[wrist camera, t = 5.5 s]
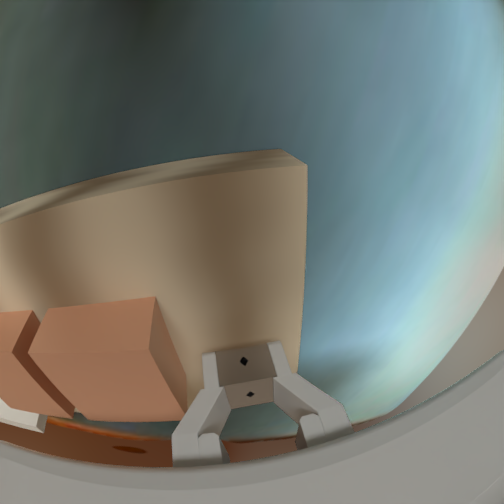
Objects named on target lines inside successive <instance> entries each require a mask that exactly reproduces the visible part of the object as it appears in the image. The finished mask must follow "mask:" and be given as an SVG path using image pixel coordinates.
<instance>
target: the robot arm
mask: <svg viewBox="0 0 504 504" xmlns="http://www.w3.org/2000/svg"><path fill="white" fill-rule="evenodd" d="M202 368H203V380H204V389H200V391H199V393H198V394H197V396H196V398H195V399H194V401H193V402H192V404H191V406H190V407H189V409H188V410H187V412H186V413H185V415H184V417H183V418H182V420H181V421H180V423H179V424H178V426H177V428H176V429H175V431H174V432H173V434H172V453H173V454H172V455H173V467H167V468H166V467H165V468H164V467H162V468H161V467H159V468H158V467H131V466H117V465H108V464H99V463H92V462H85V461H79V460H73V459H68V458H63V457H58V456H53V455H50V454H46V453H41V452H38V451H34V450H30V449H27V448H24V447H20V446H17V445H14V444H12V443H9V442H6V441H2V440H0V504H504V350H503V351H500V352H499V353H497V354H496V355H495V356H493V357H492V358H491V359H490V360H488V361H487V362H485V363H484V364H483V365H481V366H480V367H479V368H477V369H476V370H474V371H473V372H471V373H470V374H468V375H467V376H466V377H464V378H463V379H461V380H459V381H458V382H456V383H455V384H453V385H452V386H450V387H448V388H447V389H445V390H443V391H442V392H440V393H438V394H436V395H435V396H433V397H431V398H429V399H428V400H426V401H424V402H422V403H420V404H418V405H416V406H414V407H412V408H410V409H408V410H406V411H404V412H402V413H400V414H398V415H396V416H394V417H391V418H389V419H387V420H385V421H382V422H380V423H378V424H375V425H373V426H370V427H368V428H366V429H363V430H360V431H358V432H354V430H353V428H352V426H351V423H350V421H349V419H348V416H347V414H346V412H345V409H344V407H343V405H342V404H341V403H340V402H338V401H337V400H335V399H334V398H332V397H331V396H329V395H328V394H326V393H325V392H323V391H322V390H320V389H319V388H317V387H316V386H314V385H313V384H311V383H310V382H308V381H307V380H306V379H304V378H303V377H301V376H300V375H298V374H297V373H292V372H291V369H290V366H289V363H288V360H287V357H286V355H285V352H284V349H283V346H282V343H281V342H280V340H279V341H274V342H269V343H262V344H257V345H252V346H247V347H242V348H238V349H231V350H223V351H215V352H208V353H202ZM268 402H274V403H275V404H276V405H277V406H278V407H279V408H280V409H282V410H283V411H284V412H285V413H286V414H287V415H288V416H289V417H291V418H292V419H293V420H294V421H295V422H296V423H297V424H299V426H298V431H297V436H296V441H295V443H296V446H297V451H293V452H289V453H284V454H280V455H275V456H271V457H265V458H260V459H255V460H248V461H243V462H235V463H230V459H229V455H228V453H227V451H226V449H225V447H224V445H223V443H222V441H221V440H220V438H219V436H220V434H221V431H222V429H223V427H224V425H225V423H226V421H227V418H228V416H229V414H230V412H231V409H235V408H240V407H246V406H251V405H257V404H263V403H268Z"/></svg>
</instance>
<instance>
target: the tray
mask: <svg viewBox="0 0 504 504" xmlns="http://www.w3.org/2000/svg"><path fill="white" fill-rule="evenodd" d="M46 420H47V415H43V414H37V413H32V412H27V411H22V410H17V409H13V408H10V407H9V406H8V405H7V404H6V403H5V402H4V401H3V400H2V399H1V398H0V421H1V422H4V423H7V424H10V425H14V426H17V427H21V428H25V429H29V430H33V431H37V432H42V433H44V429H45V424H46Z"/></svg>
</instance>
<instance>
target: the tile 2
mask: <svg viewBox="0 0 504 504" xmlns="http://www.w3.org/2000/svg"><path fill="white" fill-rule="evenodd" d="M28 354H29V355H30V357H31V358H32V359H33V360H34V362H35V363H36V364H37V365H38V367H39V368H40V369H41V370H42V371H43V373H44V374H45V375H46V376H47V377H48V379H49V380H50V381H51V382H52V383H53V384H54V385H55V386H56V388H57V389H58V390H59V391H60V392H61V393H62V394H63V395H64V396H65V397H66V398H67V399H68V400H69V401H70V402H71V403H72V404H73V405H74V406H75V407H76V408H77V409H78V410H79V411H80V412H81V413H82V414H83V415H84V416H85V417H86V418H87V419H88V420H95V421H114V422H160V421H179V420H182V418H183V417H184V415H185V413H186V412H187V410H188V405H187V383H186V373H185V371H184V369H183V366H182V364H181V362H180V359H179V357H178V355H177V352H176V350H175V347H174V345H173V342H172V340H171V337H170V335H169V332H168V329H167V327H166V324H165V322H164V319H163V316H162V313H161V311H160V308H159V305H158V302H157V299H156V296H154V297H146V298H138V299H130V300H122V301H113V302H105V303H96V304H87V305H78V306H68V307H58V308H48V310H47V312H46V314H45V316H44V318H43V320H42V322H41V324H40V326H39V329H38V331H37V333H36V335H35V337H34V339H33V342H32V344H31V346H30V349H29V351H28Z"/></svg>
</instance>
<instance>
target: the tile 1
mask: <svg viewBox="0 0 504 504" xmlns="http://www.w3.org/2000/svg"><path fill="white" fill-rule="evenodd" d="M40 324H41V323H40V321H39V320H38V318H37V316H36V315H35V313H34V311H33V310H25V311H13V312H0V398H1V399H2V400H3V401H4V402H5V403H6V404H7V405H8V406H9V407H10V408H13V409H17V410H22V411H27V412H32V413H37V414H43V415H49V416H56V417H64V418H72V419H73V415H74V410H75V406H74V405H73V404H72V403H71V402H70V401H69V400H68V399H67V398H66V397H65V396H64V395H63V394H62V393H61V392H60V391H59V390H58V389H57V388H56V386H55V385H54V384H53V383H52V382H51V381H50V380H49V379H48V377H47V376H46V375H45V374H44V373H43V371H42V370H41V369H40V368H39V367H38V365H37V364H36V363H35V362H34V360H33V359H32V358H31V357H30V355H29V354H28V351H29V349H30V346H31V344H32V342H33V339H34V337H35V335H36V333H37V331H38V329H39V326H40Z"/></svg>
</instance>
